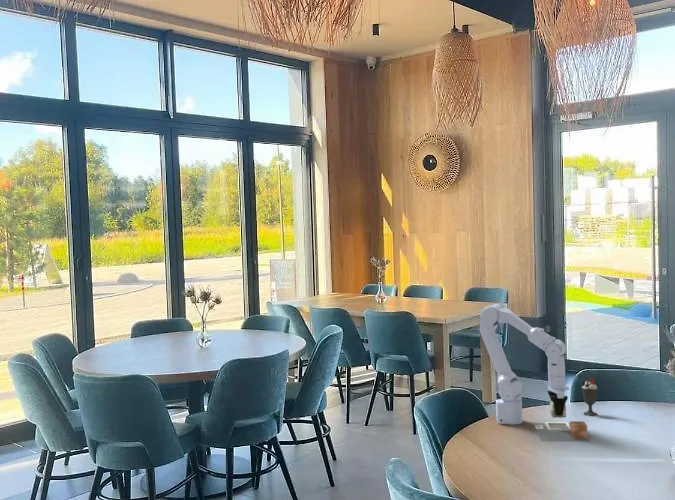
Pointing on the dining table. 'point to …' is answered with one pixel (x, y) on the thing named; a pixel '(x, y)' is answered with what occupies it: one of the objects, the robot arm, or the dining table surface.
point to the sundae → (589, 395)
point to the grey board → (556, 432)
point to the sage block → (554, 411)
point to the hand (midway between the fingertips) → (557, 413)
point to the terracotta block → (578, 429)
